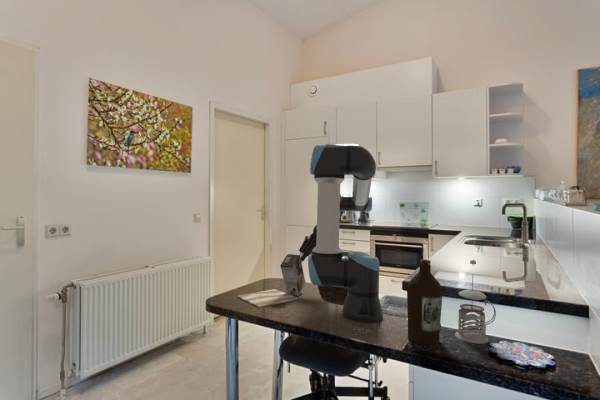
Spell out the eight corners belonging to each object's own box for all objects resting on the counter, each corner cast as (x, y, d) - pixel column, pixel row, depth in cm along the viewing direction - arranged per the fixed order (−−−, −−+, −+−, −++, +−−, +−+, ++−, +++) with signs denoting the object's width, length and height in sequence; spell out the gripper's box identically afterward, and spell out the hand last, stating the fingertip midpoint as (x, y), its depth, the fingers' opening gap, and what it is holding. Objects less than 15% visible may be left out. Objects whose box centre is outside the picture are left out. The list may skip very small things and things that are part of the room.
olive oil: (399, 334, 112) (401, 257, 112) (427, 331, 115) (428, 257, 115) (418, 347, 102) (420, 263, 102) (449, 344, 105) (450, 262, 105)
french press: (453, 329, 117) (455, 256, 117) (491, 334, 114) (493, 259, 114) (456, 340, 108) (457, 261, 108) (497, 346, 104) (499, 264, 104)
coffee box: (293, 282, 164) (287, 253, 158) (306, 283, 162) (300, 254, 155) (286, 294, 156) (279, 265, 150) (299, 296, 154) (293, 266, 148)
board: (298, 299, 149) (298, 298, 149) (259, 307, 136) (259, 306, 136) (275, 290, 163) (275, 289, 163) (237, 297, 150) (237, 295, 150)
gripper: (336, 234, 167) (309, 272, 156) (318, 232, 177) (291, 267, 167) (328, 223, 163) (300, 262, 153) (310, 222, 174) (283, 257, 163)
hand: (295, 265), depth 160 cm, fingers closed
